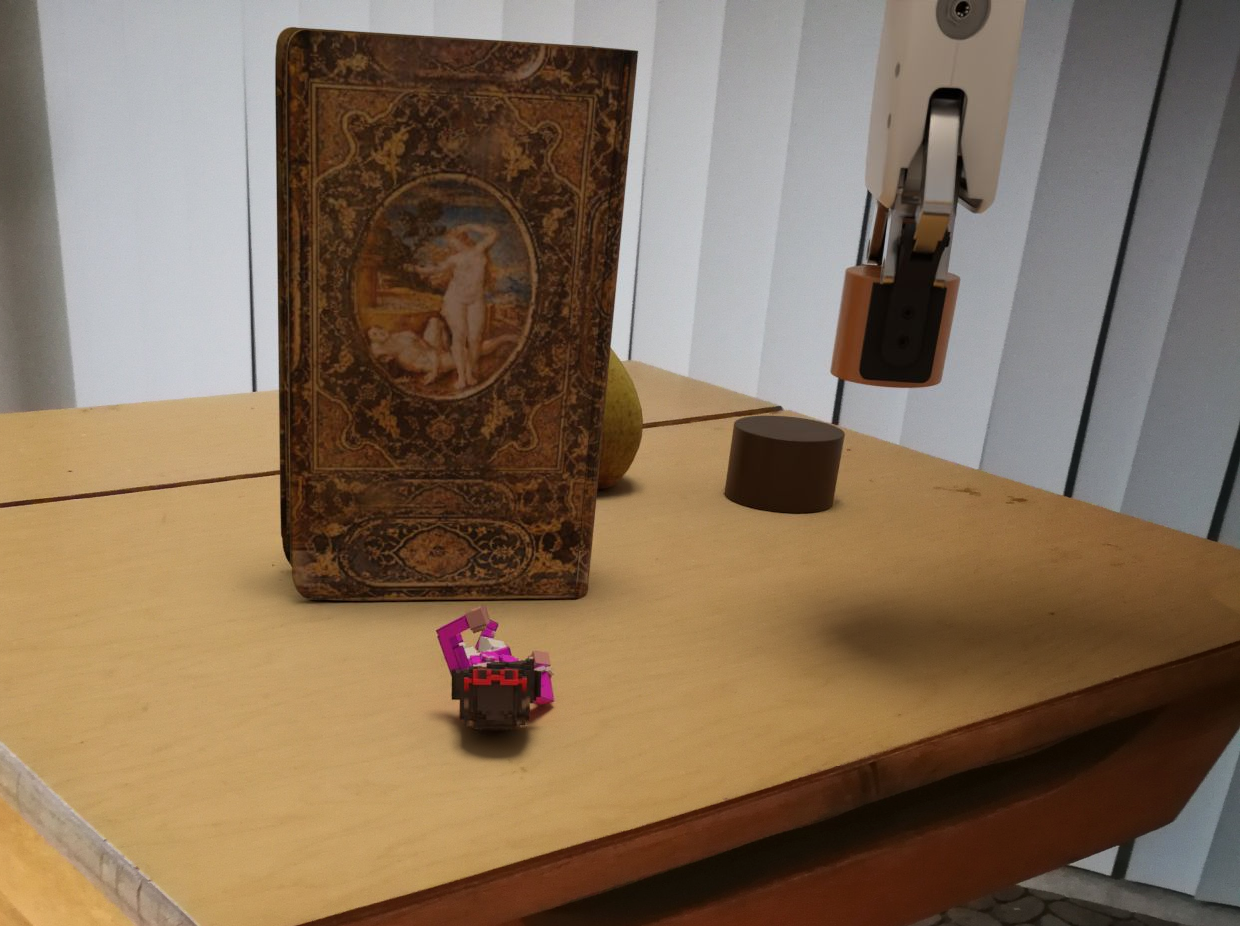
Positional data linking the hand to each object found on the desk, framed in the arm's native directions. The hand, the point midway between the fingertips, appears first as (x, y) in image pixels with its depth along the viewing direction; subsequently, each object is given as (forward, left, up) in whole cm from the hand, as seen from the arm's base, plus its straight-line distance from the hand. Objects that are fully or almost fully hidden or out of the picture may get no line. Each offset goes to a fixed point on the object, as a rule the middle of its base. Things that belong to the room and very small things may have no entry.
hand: (887, 363), depth 72 cm
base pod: (+2, -27, -13) cm, 30 cm away
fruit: (+16, -26, -13) cm, 33 cm away
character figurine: (+16, +14, -13) cm, 25 cm away
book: (+21, -2, -13) cm, 25 cm away
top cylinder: (0, 0, -1) cm, 1 cm away
